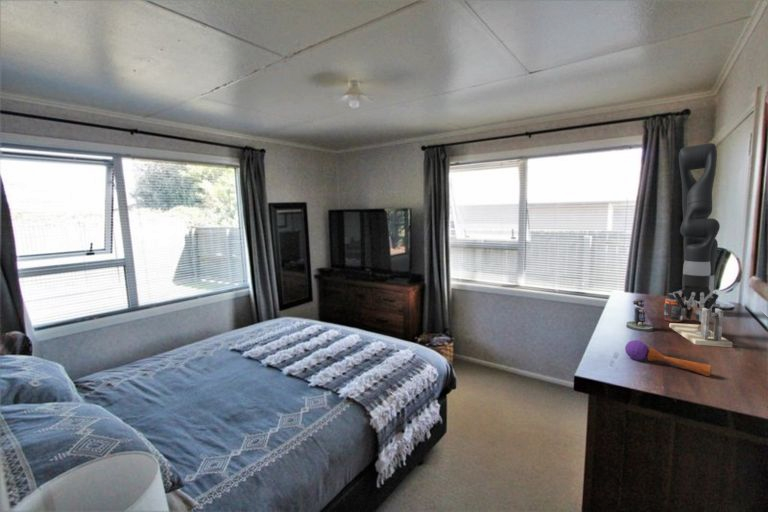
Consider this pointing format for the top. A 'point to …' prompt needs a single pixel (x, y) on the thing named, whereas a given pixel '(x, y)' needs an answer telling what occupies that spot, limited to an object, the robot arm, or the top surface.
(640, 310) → the figurine
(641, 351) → the two-tone long tapered part
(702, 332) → the base
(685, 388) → the top surface
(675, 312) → the supplement bottle
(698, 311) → the lever
